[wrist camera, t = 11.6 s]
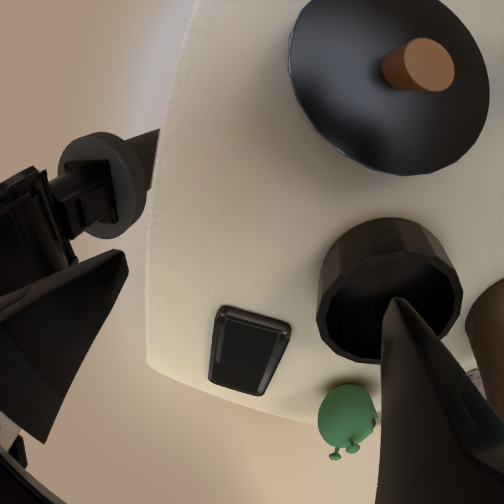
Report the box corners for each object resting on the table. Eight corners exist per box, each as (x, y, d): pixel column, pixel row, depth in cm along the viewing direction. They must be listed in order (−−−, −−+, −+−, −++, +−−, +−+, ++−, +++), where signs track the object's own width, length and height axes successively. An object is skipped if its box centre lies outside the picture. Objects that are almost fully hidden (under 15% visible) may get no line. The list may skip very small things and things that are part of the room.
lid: (285, 152, 16) (270, 178, 12) (293, -29, 10) (280, -72, 5) (464, 189, 14) (505, 227, 10) (482, 21, 7) (528, 9, 3)
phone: (293, 333, 26) (261, 398, 35) (294, 324, 27) (263, 391, 36) (214, 310, 27) (206, 381, 35) (218, 302, 28) (209, 375, 36)
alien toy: (360, 404, 33) (357, 466, 25) (312, 393, 34) (302, 460, 26) (388, 380, 29) (390, 451, 21) (336, 368, 30) (329, 446, 22)
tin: (310, 316, 26) (305, 356, 22) (333, 205, 20) (335, 237, 16) (415, 329, 24) (423, 367, 20) (461, 231, 18) (486, 265, 14)
